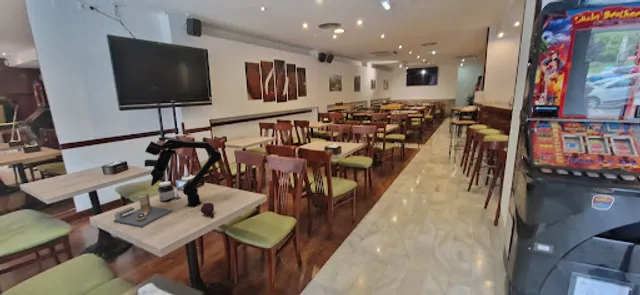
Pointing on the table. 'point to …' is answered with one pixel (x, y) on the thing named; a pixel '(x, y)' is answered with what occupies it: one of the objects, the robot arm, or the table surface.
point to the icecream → (208, 209)
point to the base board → (151, 217)
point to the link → (144, 206)
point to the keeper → (120, 214)
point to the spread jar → (167, 191)
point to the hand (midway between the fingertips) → (153, 183)
